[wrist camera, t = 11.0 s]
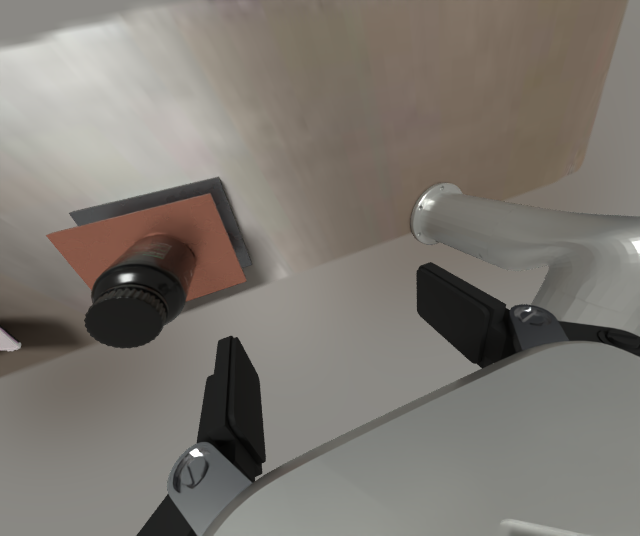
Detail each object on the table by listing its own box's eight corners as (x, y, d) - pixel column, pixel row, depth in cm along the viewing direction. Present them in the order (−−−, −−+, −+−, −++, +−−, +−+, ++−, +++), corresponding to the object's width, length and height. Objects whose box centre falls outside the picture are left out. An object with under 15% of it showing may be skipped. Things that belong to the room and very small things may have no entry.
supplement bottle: (193, 288, 30) (175, 357, 20) (128, 284, 27) (69, 361, 17) (198, 239, 28) (180, 288, 18) (127, 228, 25) (58, 279, 15)
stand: (218, 176, 33) (215, 182, 26) (251, 261, 40) (255, 284, 33) (74, 211, 29) (25, 228, 22) (137, 298, 36) (115, 332, 29)
